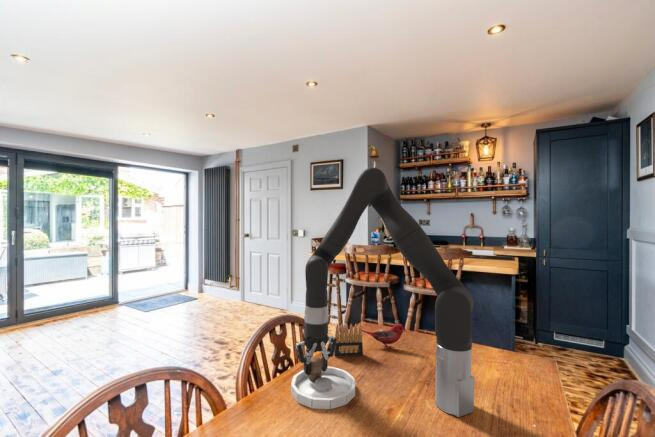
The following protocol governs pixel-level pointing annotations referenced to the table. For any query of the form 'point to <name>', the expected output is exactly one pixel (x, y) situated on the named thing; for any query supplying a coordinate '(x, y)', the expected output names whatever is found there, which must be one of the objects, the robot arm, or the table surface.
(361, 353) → the ammunition clip
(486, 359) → the table surface
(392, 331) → the decorative bird figurine
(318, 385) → the ring tray
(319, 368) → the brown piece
